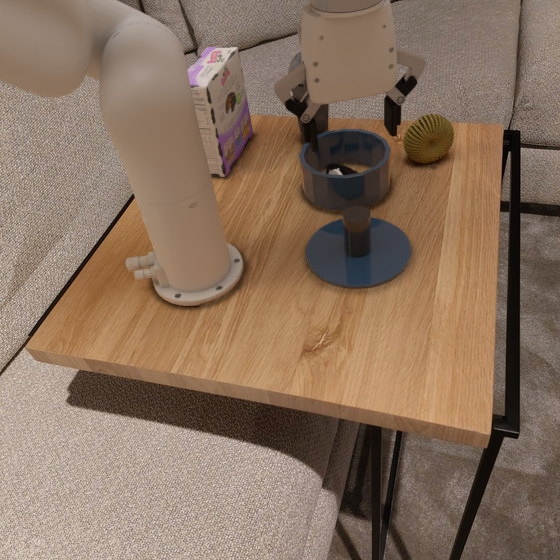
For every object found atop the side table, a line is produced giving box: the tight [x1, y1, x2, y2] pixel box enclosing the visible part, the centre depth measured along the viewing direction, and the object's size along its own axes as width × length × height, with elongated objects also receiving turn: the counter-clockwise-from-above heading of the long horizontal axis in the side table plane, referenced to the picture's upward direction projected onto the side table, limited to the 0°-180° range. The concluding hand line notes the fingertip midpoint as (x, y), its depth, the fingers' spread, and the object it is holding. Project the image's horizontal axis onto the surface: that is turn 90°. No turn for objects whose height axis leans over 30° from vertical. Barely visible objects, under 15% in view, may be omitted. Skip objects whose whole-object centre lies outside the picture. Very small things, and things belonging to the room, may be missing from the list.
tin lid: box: [305, 206, 412, 289], centre depth 78 cm, size 14×14×7 cm
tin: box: [298, 128, 392, 212], centre depth 90 cm, size 13×13×6 cm
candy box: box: [187, 46, 254, 178], centre depth 97 cm, size 14×6×16 cm, turn 162°
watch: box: [325, 163, 359, 175], centre depth 90 cm, size 8×5×4 cm, turn 34°
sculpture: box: [402, 113, 455, 164], centre depth 92 cm, size 8×4×8 cm, turn 101°
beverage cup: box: [287, 22, 330, 144], centre depth 97 cm, size 7×7×20 cm
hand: (351, 138), depth 71 cm, fingers open, 9 cm apart
